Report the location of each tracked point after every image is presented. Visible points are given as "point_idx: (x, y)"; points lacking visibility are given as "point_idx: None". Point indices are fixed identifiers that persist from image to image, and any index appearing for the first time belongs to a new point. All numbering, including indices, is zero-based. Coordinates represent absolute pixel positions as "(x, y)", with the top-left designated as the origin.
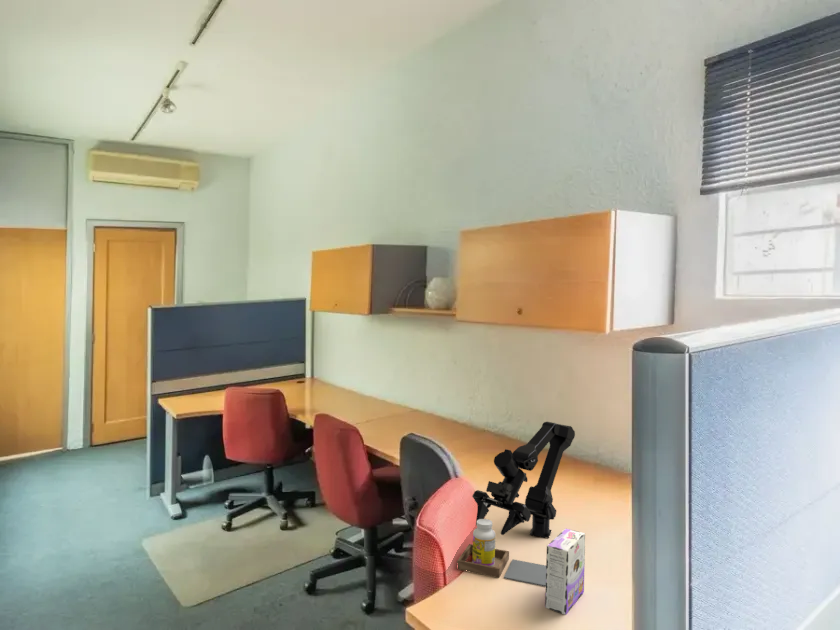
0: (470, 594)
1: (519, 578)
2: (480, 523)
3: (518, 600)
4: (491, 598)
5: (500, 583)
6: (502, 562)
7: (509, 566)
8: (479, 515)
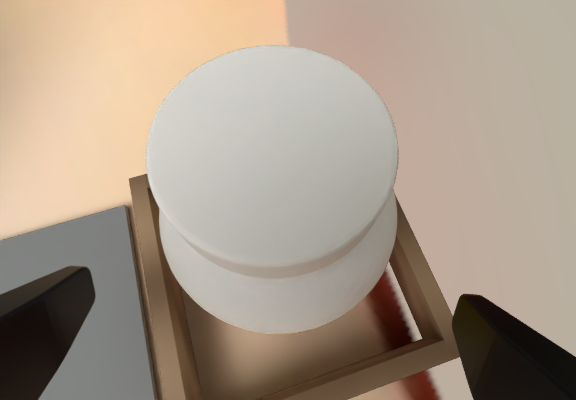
0: (190, 32)
1: (46, 243)
2: (281, 55)
3: (11, 98)
4: (111, 53)
5: (123, 160)
6: (145, 259)
7: (141, 331)
8: (565, 389)
